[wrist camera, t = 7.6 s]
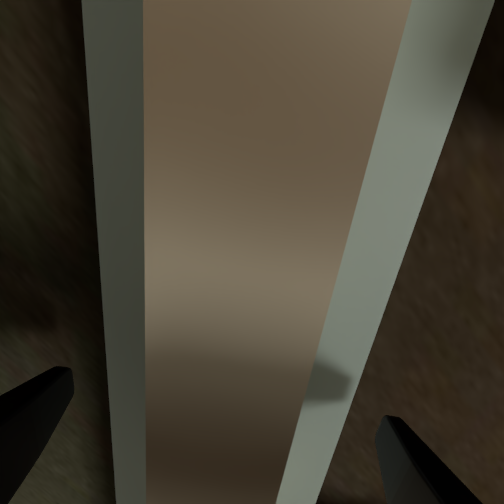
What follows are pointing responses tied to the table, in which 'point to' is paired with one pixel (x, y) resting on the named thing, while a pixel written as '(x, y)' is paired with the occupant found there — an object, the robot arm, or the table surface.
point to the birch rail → (248, 222)
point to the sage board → (357, 246)
